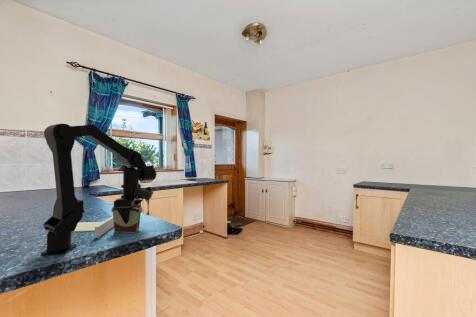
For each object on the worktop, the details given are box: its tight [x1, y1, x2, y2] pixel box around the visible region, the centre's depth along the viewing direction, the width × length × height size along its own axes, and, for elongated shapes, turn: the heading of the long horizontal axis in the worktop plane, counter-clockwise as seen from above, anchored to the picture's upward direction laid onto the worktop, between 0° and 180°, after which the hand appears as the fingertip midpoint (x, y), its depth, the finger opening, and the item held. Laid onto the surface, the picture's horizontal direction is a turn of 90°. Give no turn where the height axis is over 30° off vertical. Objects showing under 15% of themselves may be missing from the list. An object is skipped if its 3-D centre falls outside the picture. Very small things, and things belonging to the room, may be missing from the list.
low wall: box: [94, 215, 114, 239], centre depth 87 cm, size 20×1×4 cm, turn 9°
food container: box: [110, 204, 143, 234], centre depth 86 cm, size 12×6×10 cm, turn 84°
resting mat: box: [72, 221, 103, 233], centre depth 89 cm, size 12×15×1 cm
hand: (130, 220), depth 86 cm, fingers open, 9 cm apart
